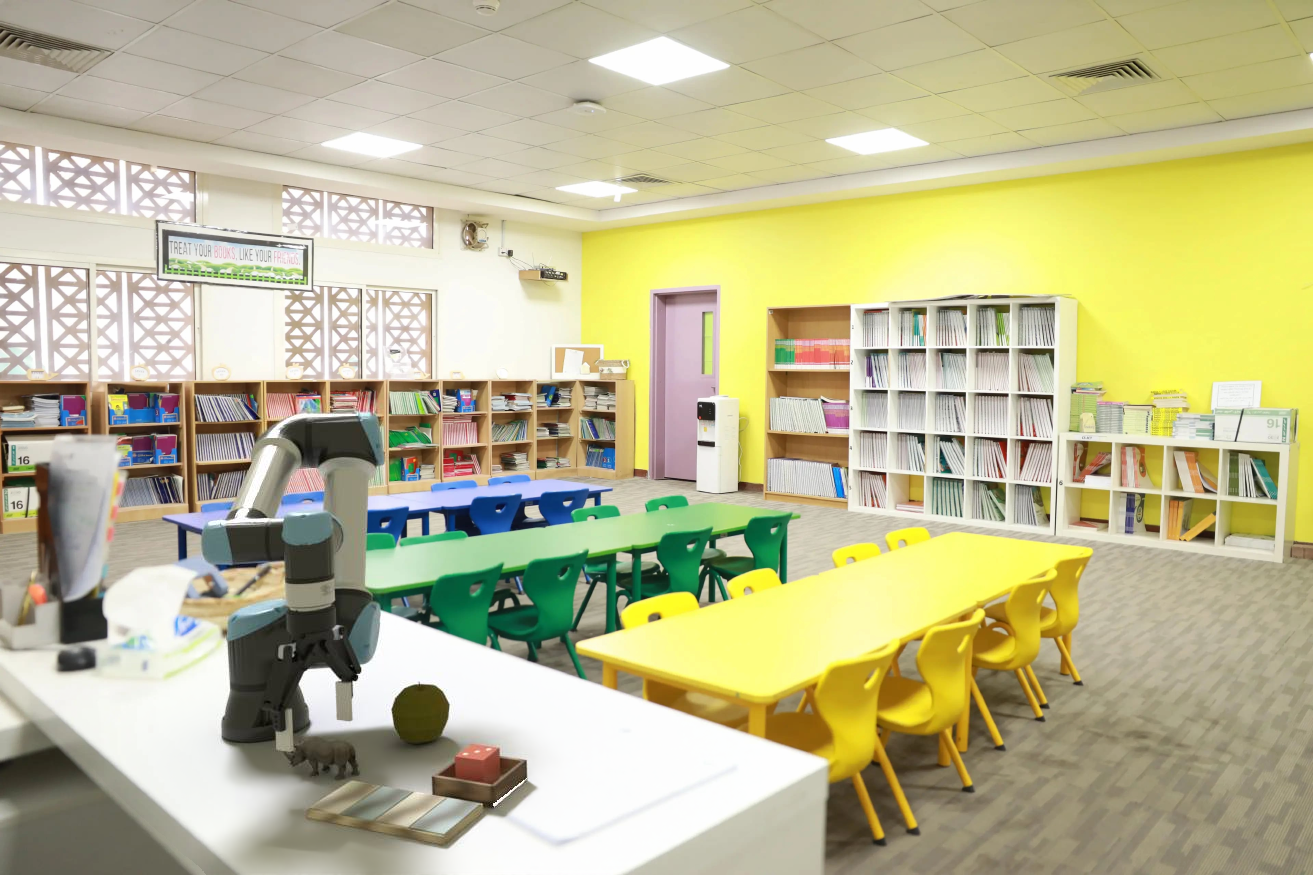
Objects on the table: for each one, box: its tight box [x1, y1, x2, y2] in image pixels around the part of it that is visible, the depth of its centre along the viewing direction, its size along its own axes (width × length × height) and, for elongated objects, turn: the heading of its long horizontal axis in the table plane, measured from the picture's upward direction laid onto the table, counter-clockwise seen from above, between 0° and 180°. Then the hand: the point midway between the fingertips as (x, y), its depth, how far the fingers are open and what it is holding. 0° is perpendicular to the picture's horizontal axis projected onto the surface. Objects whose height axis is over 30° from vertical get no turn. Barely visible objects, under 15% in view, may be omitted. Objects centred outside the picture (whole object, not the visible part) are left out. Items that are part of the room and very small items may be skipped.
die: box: [454, 743, 501, 784], centre depth 139 cm, size 5×5×5 cm
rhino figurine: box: [283, 736, 361, 781], centre depth 146 cm, size 4×14×6 cm, turn 74°
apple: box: [391, 682, 451, 745], centre depth 158 cm, size 10×10×11 cm
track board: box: [305, 780, 484, 846], centre depth 131 cm, size 24×10×1 cm, turn 69°
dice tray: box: [431, 755, 528, 809], centre depth 139 cm, size 11×10×3 cm
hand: (316, 734), depth 145 cm, fingers open, 13 cm apart
